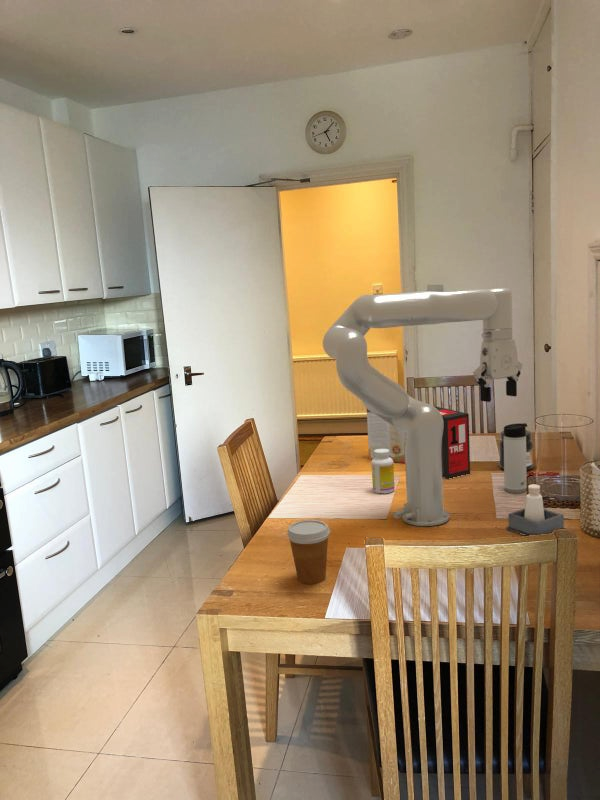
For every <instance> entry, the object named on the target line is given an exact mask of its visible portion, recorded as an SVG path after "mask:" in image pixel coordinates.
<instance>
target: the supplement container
mask: <svg viewBox="0 0 600 800" xmlns="http://www.w3.org/2000/svg"><path fill="white" fill-rule="evenodd" d="M498 445H499V467H500V468H501V469H502V470H504V430H501V432H500V440H499V442H498ZM533 446H534V442H533V440H532V432H531V431H529V430H526V472H527V471H530V470H532V468H534V449H533Z"/></svg>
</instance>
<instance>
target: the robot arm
mask: <svg viewBox="0 0 600 800" xmlns="http://www.w3.org/2000/svg"><path fill="white" fill-rule="evenodd" d="M474 321H475V322H476V321H482V334H481V337H482V341H481V345H480V346H481V347H480V353H479V354H480V356H479V366H478V367H477V368H476V369H475V370H473V373H472V374H473V377H474V379H475V382H476V384H477V386H478V387H479V389H480V393H479V394H480V401H482V402H486V403H491V402H492V387H491V386H490V384H491V383H492V382H493V380H501V379H507V380H506V381H505V395H506V396H509V397H517V396H518V395H517V392H518V391H517V389H518V388H517V385H518V384H517V382H519V377H520V376H521V370H522V368H523V363H521V362H519V359H518V349H517V345H516V341H515V339H514V338H513V293H512V290H511V289H510V288H508V287H496V288H494V287H492V288H487V289H473V288H471V289H463V290H462V289H461V290H460V291H433V290H431V291H429V290H428V291H427V290H423V291H422V290H421V291H409V292H396V293H381V294H379V293H378V294H363V295H361V296H359V297H358V298H356V299H355V300H354V301H353V302H352V303H351V304H350V305H349V306H348V307H347V308H346V309H345V311H344V312H343V313H342V314H341V315H340V316H339V317H338V318H337V319H336V321H335V322H333V324H332V325H331V326H330V327H329V328H328V330H327V331H326V332H325V333H324V336H323V337H322V338H323V339H322V347H323V350H324V352H325V354H326V355H327V356H328V357H329V358H332V359H333V360H335V365H336V366H335V367H336V371H337V373H336V374H337V376H338V378H339V381H340V383H341V384H342V386H343V388H345V390H347V391H349V392H350V394H352V395H354V396H355V397H357V398H358V399H359V400H361V402H362V404H363V406H364V407H365V408H366V410H367V409H368V410H369V411H371V412H372V413H374V414H375V415H377V416H378V417H380V418H381V419H383V420H384V421H386V422H387V423H389V424H390V425H392V426H394V427H395V428H397V429H398V430H400V431H402V432H404V433H406V434H407V443H406V448H405V463H404V465H405V484H406V488H405V489H406V502H405V503H403V507H402V508H401V509H398V510H394V511H393V512H392V515H393V518H394V519H399V518H401V519H402V521H403V522H405V523H407V524H408V525H412V526H416V527H418V526H419V527H433V526H439V525H443V524H445V523H447V522H448V521H449V520H450V512H449V511H447V510H446V509H445V508H444V495H443V494H444V493H443V489H444V486H443V477H442V458H441V445H442V436H443V429H444V422H443V418H442V415H441V413H440V412H439V411H438V410H437V409H436V408H435V407H436V406H434V405H432V404H429V403H427V402H423V401H421V400H418V399H416V398H413V397H412V396H410V395H409V394H408V392H407V391H406V390H405V388H404V387H403V386H401V385H400V384H399V383H397V382H395V381H393V380H392V379H390V378H389V377H388V376H385V374H383V373H381V372H380V371H379V370H377V369H376V368H375V367H373V365H371V363H370V362H369V358H368V343H367V342H368V341H367V340H366V338H365V336H366V335H367V334H368V332H369V331H370V330H371V329H389V328H390V329H391V328H398V327H409V326H413V327H415V326H423V325H425V326H426V325H438V324H446V323H447V324H448V323H459V322H460V323H461V322H462V323H463V322H474Z"/></svg>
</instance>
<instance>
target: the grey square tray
mask: <svg viewBox="0 0 600 800" xmlns="http://www.w3.org/2000/svg"><path fill="white" fill-rule="evenodd" d="M524 514H525V508H523V509H519V510H516V511H513V512H510V513H508V515H507V516H508V517H507V520H508V525H507V526H506V528H505V530H507V531H509V532H512V531H514V532H513V533H515V532H518V533H522V534H525V535H524V537H526V536H529V535H541V534H549V533H552V532H553V531H554V530H558V529H566V530H567V528H565V523H564V521H565V519H564V514H563V513H558V512H556V511H552V510H550V509H547V508H544V517H545V520H543V521H540V522H535V521H532V520H529V519H526V518H524ZM518 533H517V534H518Z"/></svg>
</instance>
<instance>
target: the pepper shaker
mask: <svg viewBox="0 0 600 800" xmlns="http://www.w3.org/2000/svg"><path fill="white" fill-rule="evenodd" d="M527 487H528V488H527V489H528V494H526V497H525V503H524V504H525V505H524V506H525V507H524V509H525V514H524V518H526V519H529V520H532V521H535V522H540V521H543V520H545V517H544V509H545V508H544V501H543V496H542V495H541V486H540V485H539V484H537V483H536V484H535V483H534V484H533V483H532V484H529V485H527Z"/></svg>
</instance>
